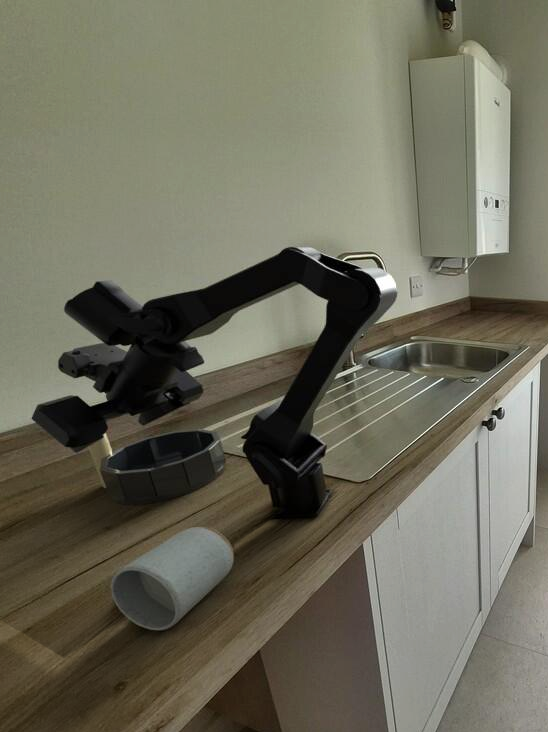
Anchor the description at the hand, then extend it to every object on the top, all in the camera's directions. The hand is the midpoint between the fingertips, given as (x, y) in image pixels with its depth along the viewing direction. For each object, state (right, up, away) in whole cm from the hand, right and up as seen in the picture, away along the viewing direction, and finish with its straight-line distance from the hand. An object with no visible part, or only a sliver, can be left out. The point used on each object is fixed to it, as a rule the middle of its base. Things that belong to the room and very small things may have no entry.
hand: (110, 435), depth 61 cm
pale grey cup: (+23, -16, -16) cm, 33 cm away
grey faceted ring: (+3, -8, +6) cm, 10 cm away
